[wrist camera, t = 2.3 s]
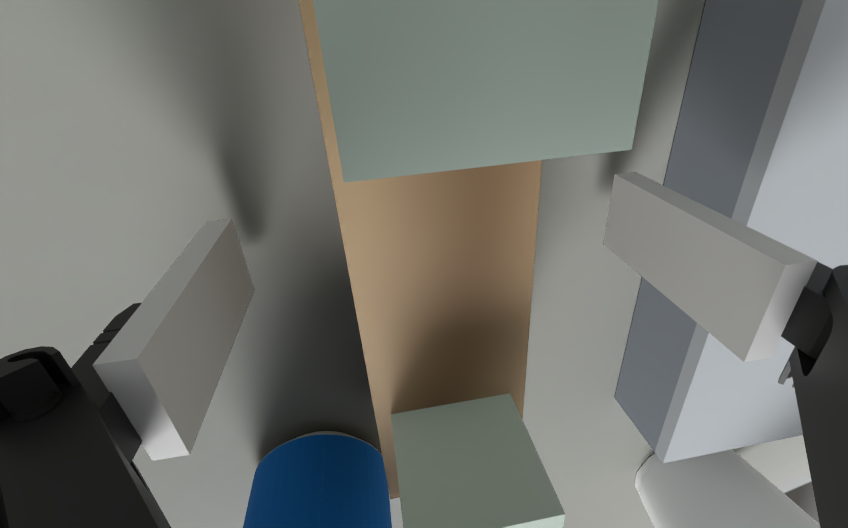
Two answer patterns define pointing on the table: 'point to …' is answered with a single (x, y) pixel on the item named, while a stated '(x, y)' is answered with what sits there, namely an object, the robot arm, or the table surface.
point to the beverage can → (320, 485)
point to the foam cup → (715, 495)
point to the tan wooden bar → (435, 276)
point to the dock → (745, 213)
